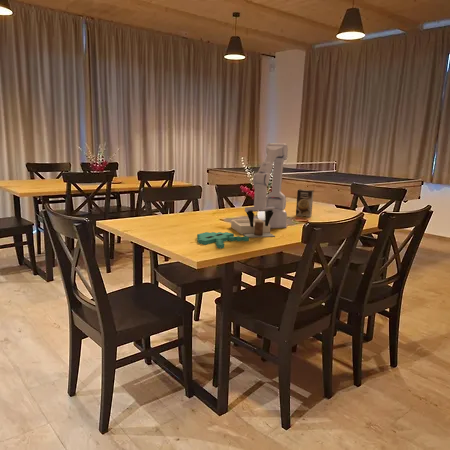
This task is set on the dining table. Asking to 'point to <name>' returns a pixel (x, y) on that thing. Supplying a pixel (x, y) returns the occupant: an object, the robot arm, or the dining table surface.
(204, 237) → the alien figure
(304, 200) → the coffee box
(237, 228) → the open box
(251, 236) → the slate mat
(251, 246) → the dining table surface
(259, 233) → the walnut cylinder
